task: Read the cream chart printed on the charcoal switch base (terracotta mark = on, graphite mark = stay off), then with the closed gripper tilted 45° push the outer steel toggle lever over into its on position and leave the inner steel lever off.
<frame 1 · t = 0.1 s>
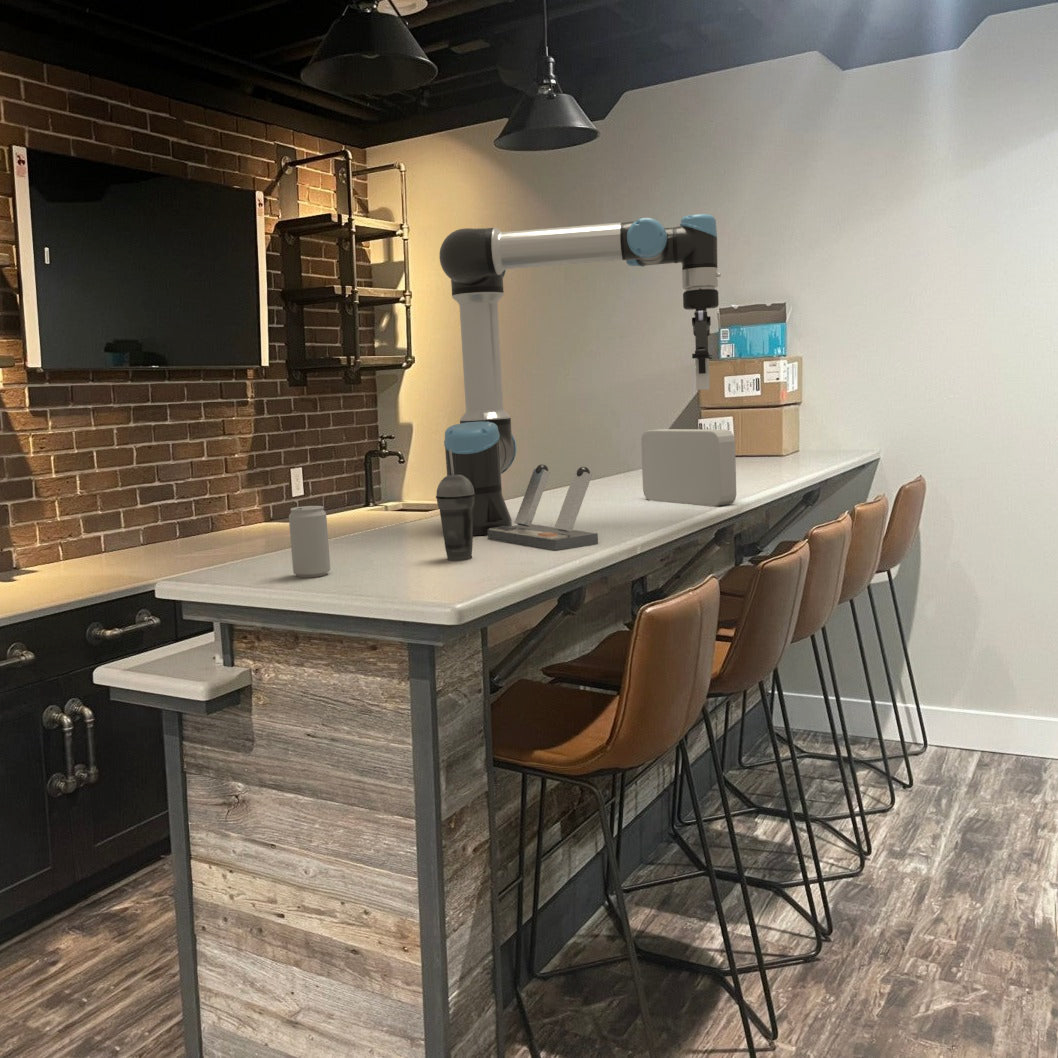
hand: (703, 389, 225), 28 cm above the counter, tool pointing down, fingers open, 13 cm apart
inner lever: (533, 494, 212), point 9 cm above the counter, hinge at -28.0°
beverage can: (312, 576, 181), on the counter
outer lever: (574, 498, 201), point 9 cm above the counter, hinge at -28.0°
switch base: (541, 541, 206), on the counter
gray rounded block: (688, 503, 258), on the counter
beverage cup: (459, 559, 190), on the counter
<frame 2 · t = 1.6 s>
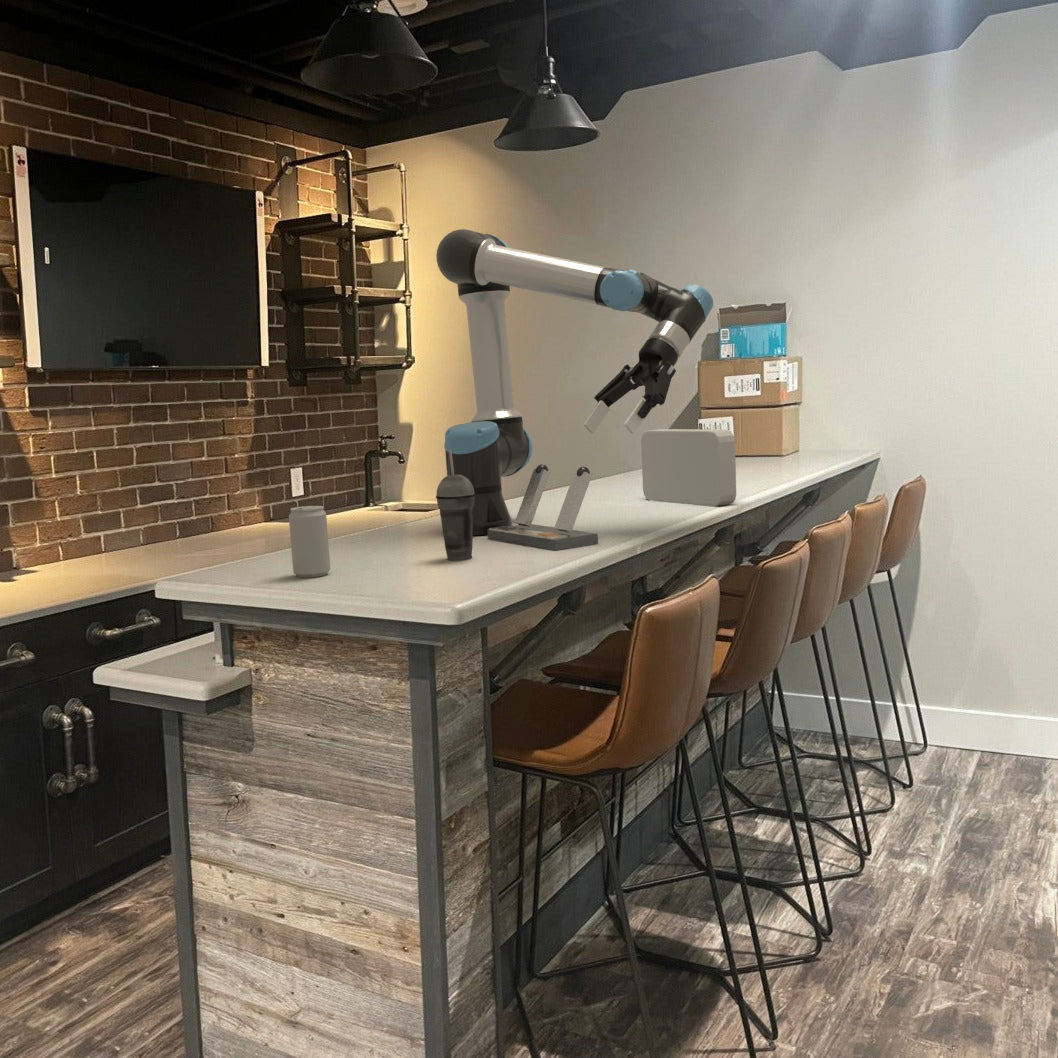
hand: (607, 429, 204), 21 cm above the counter, tool tilted 45°, fingers open, 12 cm apart
nothing on the counter moved.
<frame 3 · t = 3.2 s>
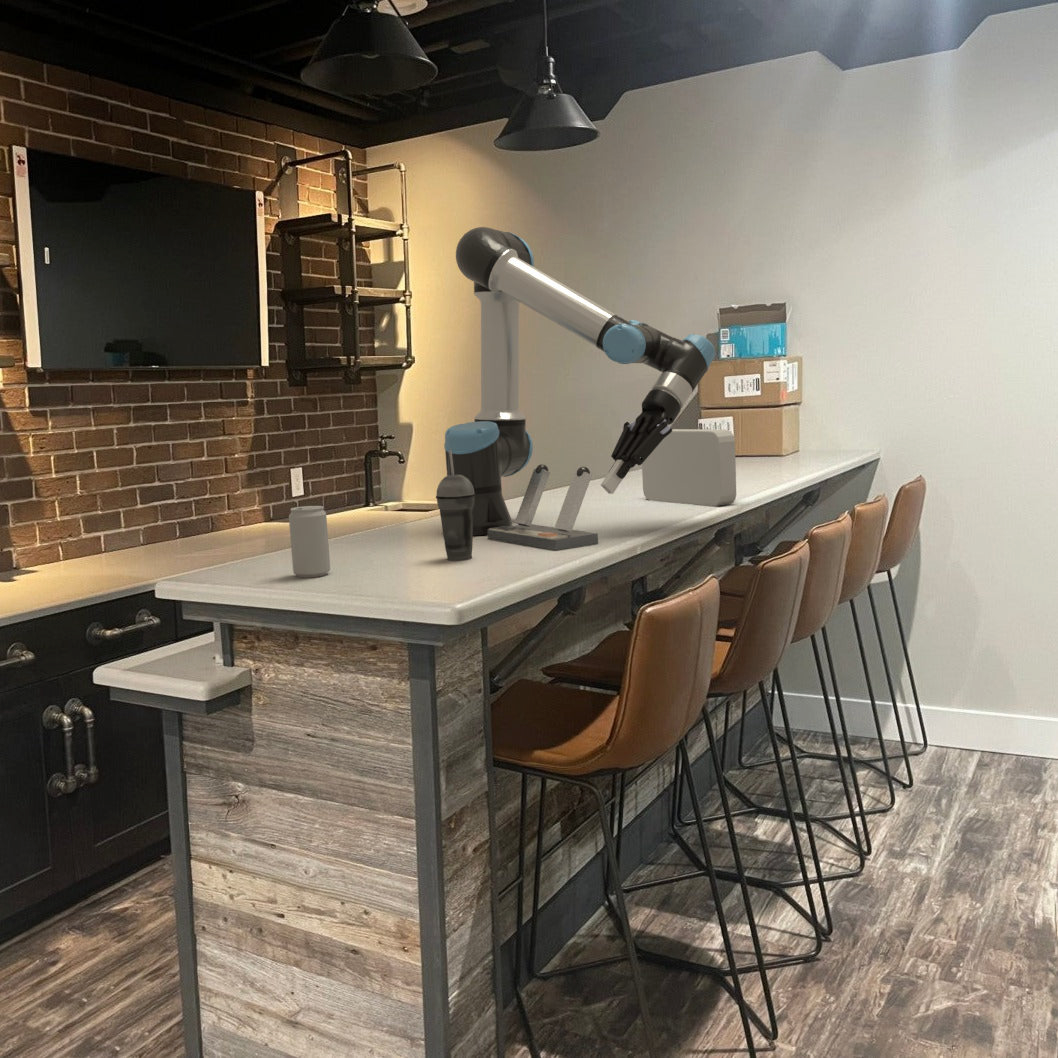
hand: (606, 489, 205), 10 cm above the counter, tool tilted 45°, fingers closed
nothing on the counter moved.
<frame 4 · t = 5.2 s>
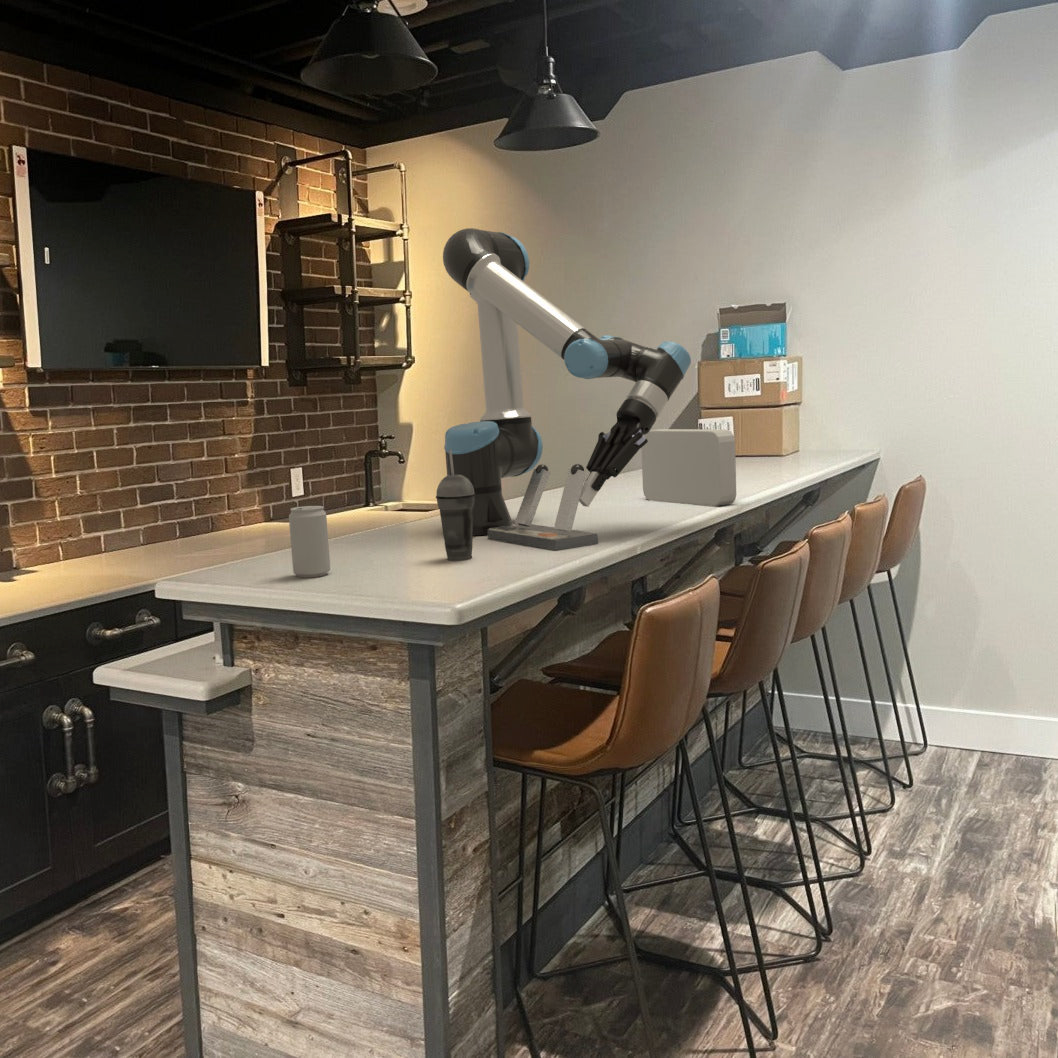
hand: (581, 502, 201), 8 cm above the counter, tool tilted 45°, fingers closed
outer lever: (570, 497, 200), point 9 cm above the counter, hinge at -21.0°, touching gripper
everything else where it was.
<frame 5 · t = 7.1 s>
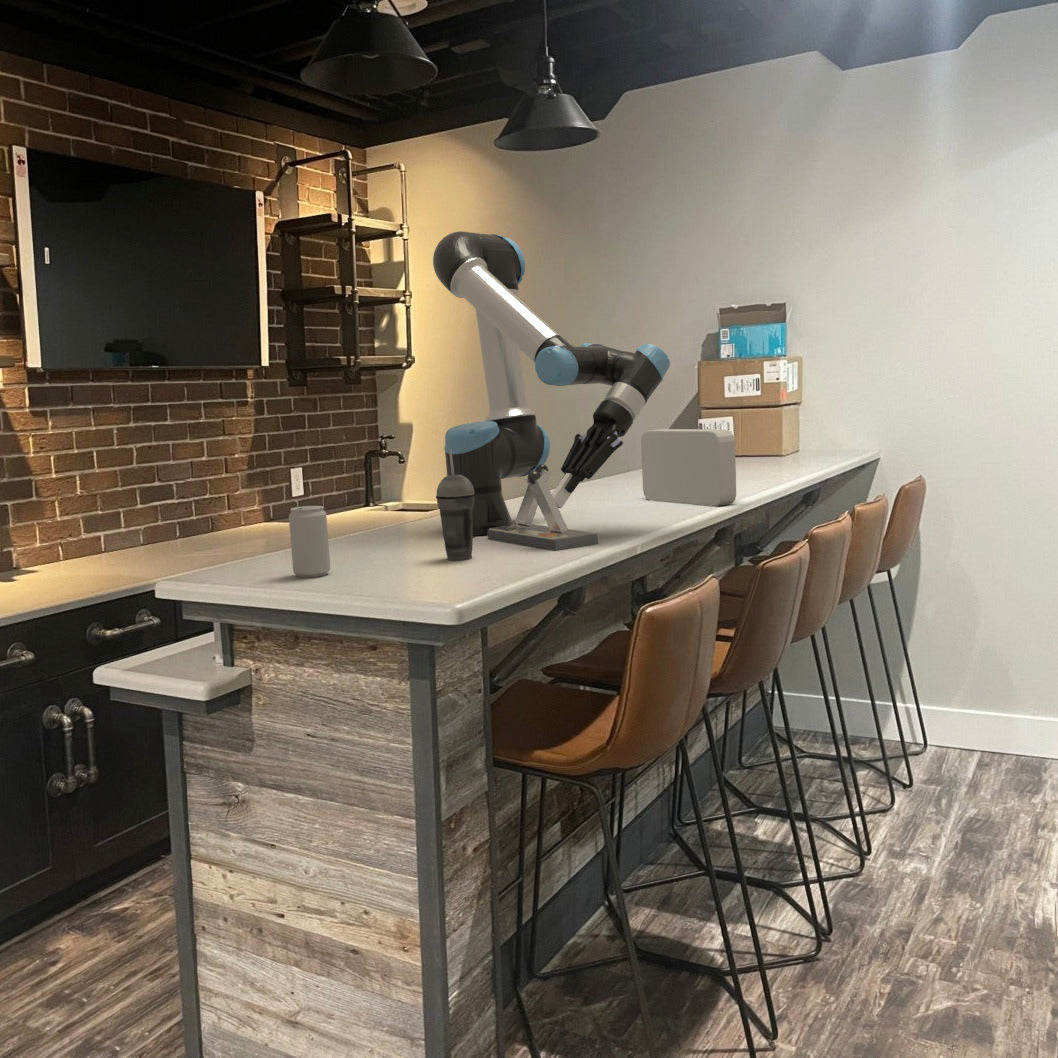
hand: (554, 503, 198), 8 cm above the counter, tool tilted 45°, fingers closed
outer lever: (545, 501, 197), point 9 cm above the counter, hinge at 25.9°, touching gripper
everything else where it was.
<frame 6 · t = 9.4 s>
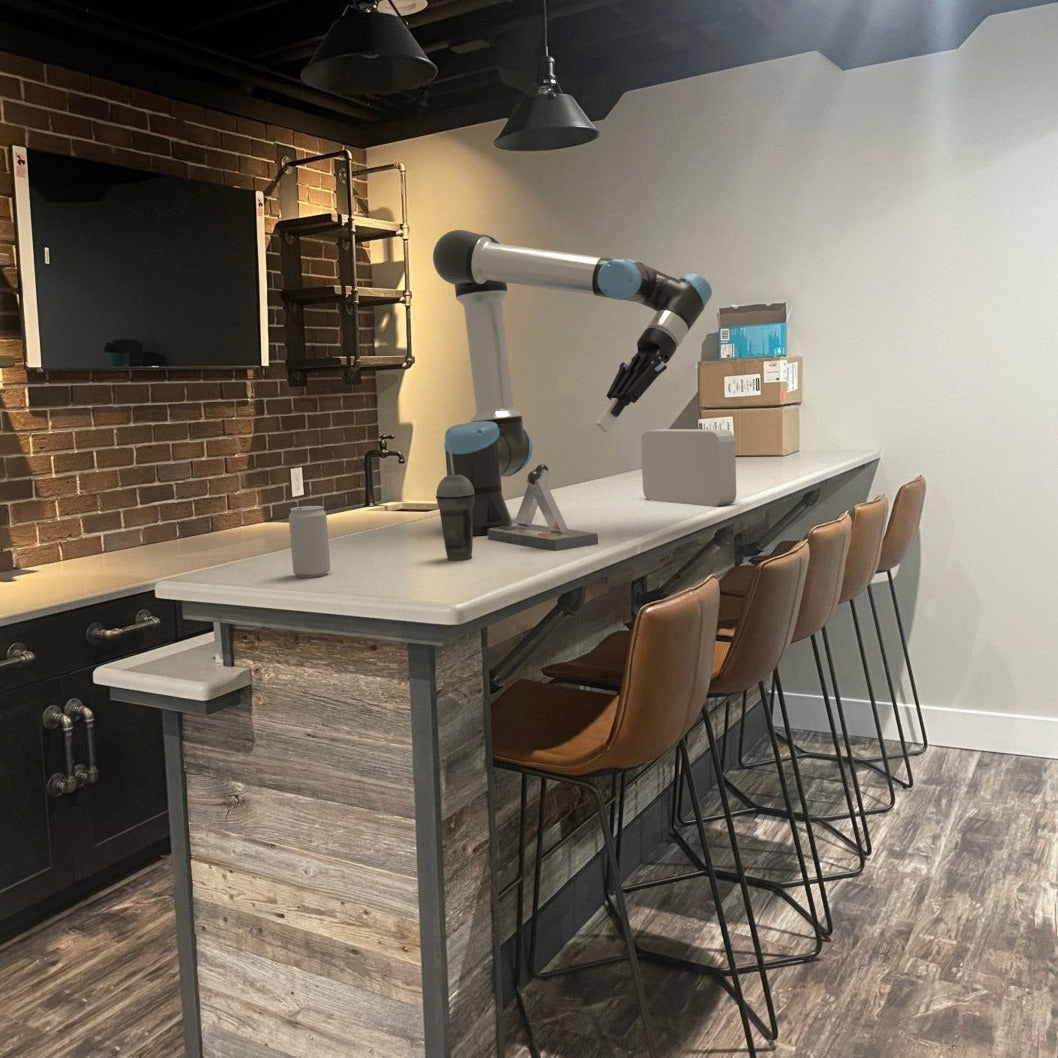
hand: (601, 427, 204), 22 cm above the counter, tool tilted 45°, fingers closed
outer lever: (545, 501, 197), point 9 cm above the counter, hinge at 25.9°
everything else where it was.
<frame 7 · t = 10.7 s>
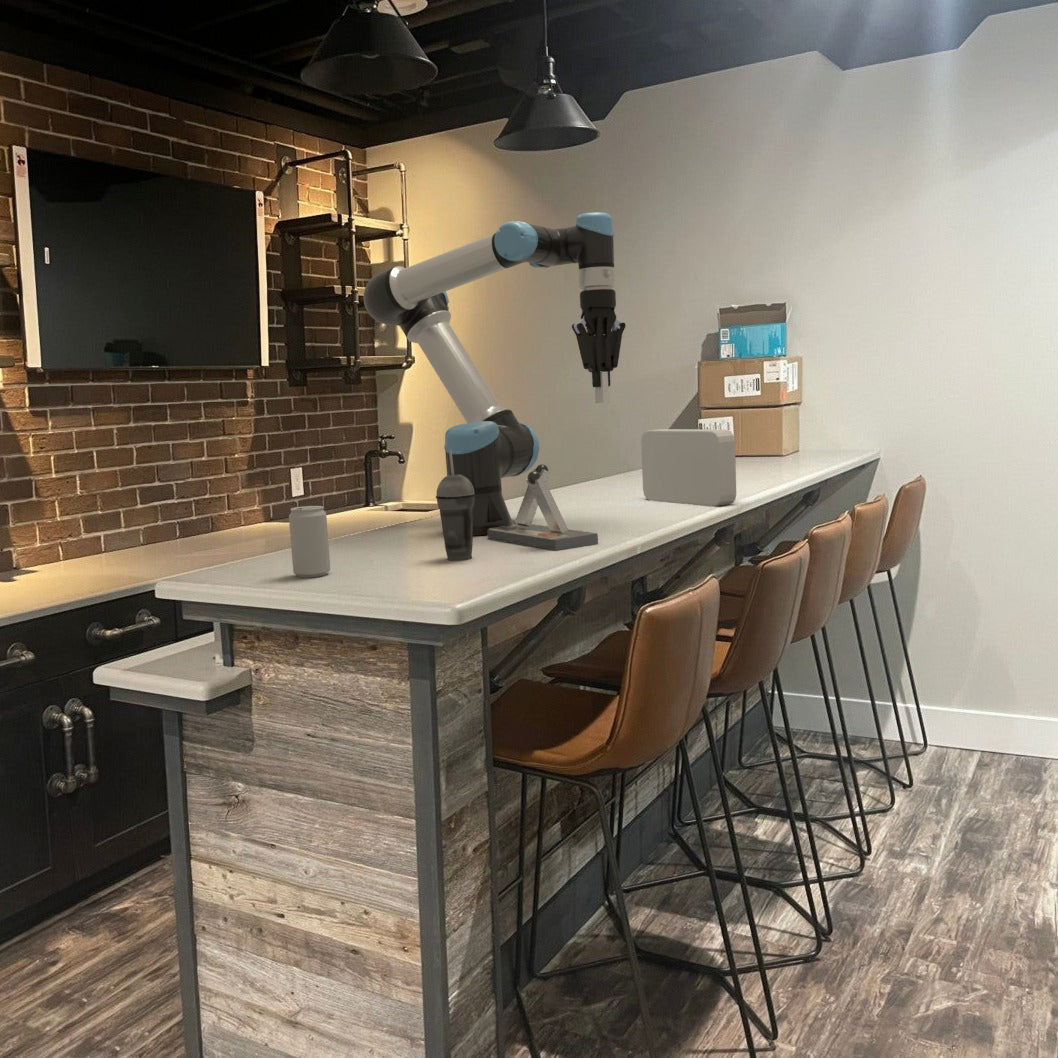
hand: (602, 402, 220), 26 cm above the counter, tool pointing down, fingers closed
nothing on the counter moved.
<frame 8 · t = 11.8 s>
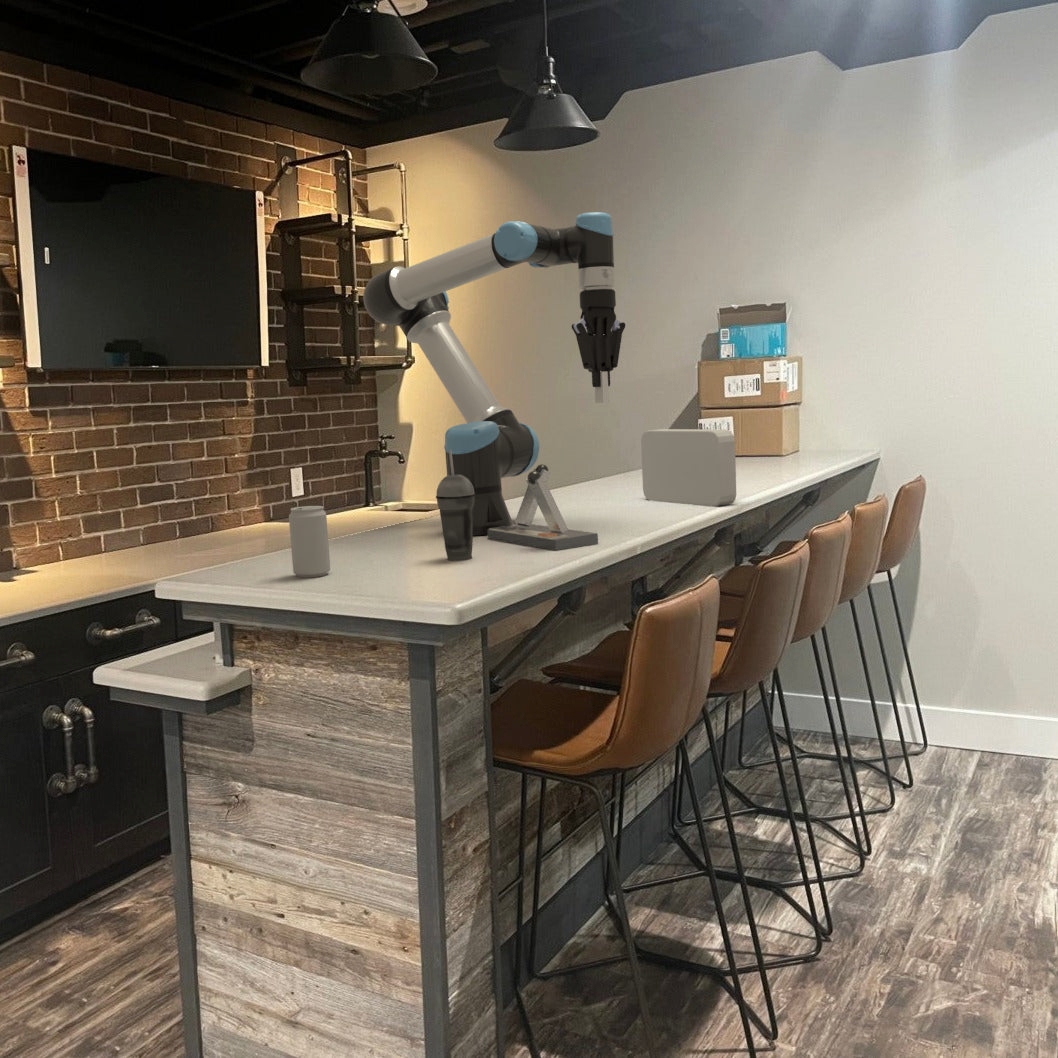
hand: (602, 402, 220), 26 cm above the counter, tool pointing down, fingers closed
nothing on the counter moved.
at the end: outer lever at +26° (first picture: -28°); inner lever at -28° (first picture: -28°) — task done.
